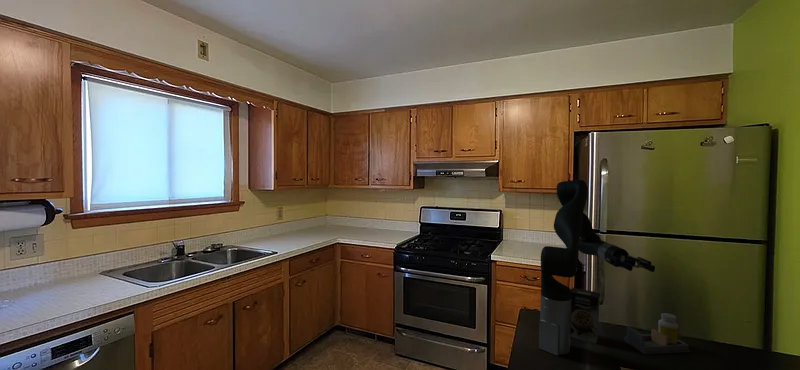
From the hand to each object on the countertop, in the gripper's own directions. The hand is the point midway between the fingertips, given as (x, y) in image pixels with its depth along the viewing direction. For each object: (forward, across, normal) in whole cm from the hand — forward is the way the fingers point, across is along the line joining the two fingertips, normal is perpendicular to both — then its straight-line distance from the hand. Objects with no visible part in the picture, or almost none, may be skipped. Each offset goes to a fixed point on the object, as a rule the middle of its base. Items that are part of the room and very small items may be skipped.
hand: (642, 268), depth 126 cm
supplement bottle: (+12, +3, +22) cm, 25 cm away
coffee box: (+5, -22, +24) cm, 33 cm away
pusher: (+12, 0, +22) cm, 25 cm away
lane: (+12, -1, +22) cm, 25 cm away
